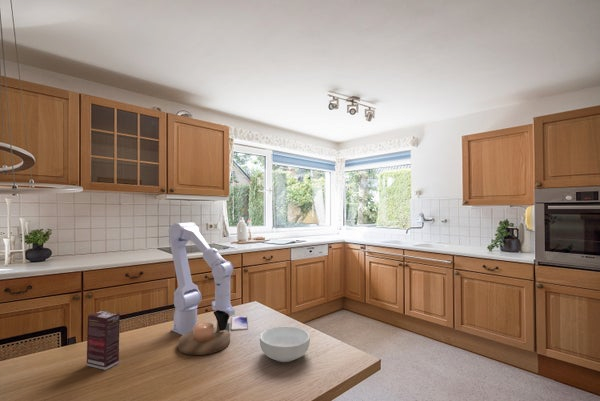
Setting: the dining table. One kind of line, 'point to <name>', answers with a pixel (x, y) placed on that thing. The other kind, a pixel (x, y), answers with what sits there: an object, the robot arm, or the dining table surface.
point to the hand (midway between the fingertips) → (222, 329)
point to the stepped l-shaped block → (228, 327)
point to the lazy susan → (204, 343)
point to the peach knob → (203, 332)
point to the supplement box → (103, 339)
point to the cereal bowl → (284, 343)
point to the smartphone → (239, 323)
